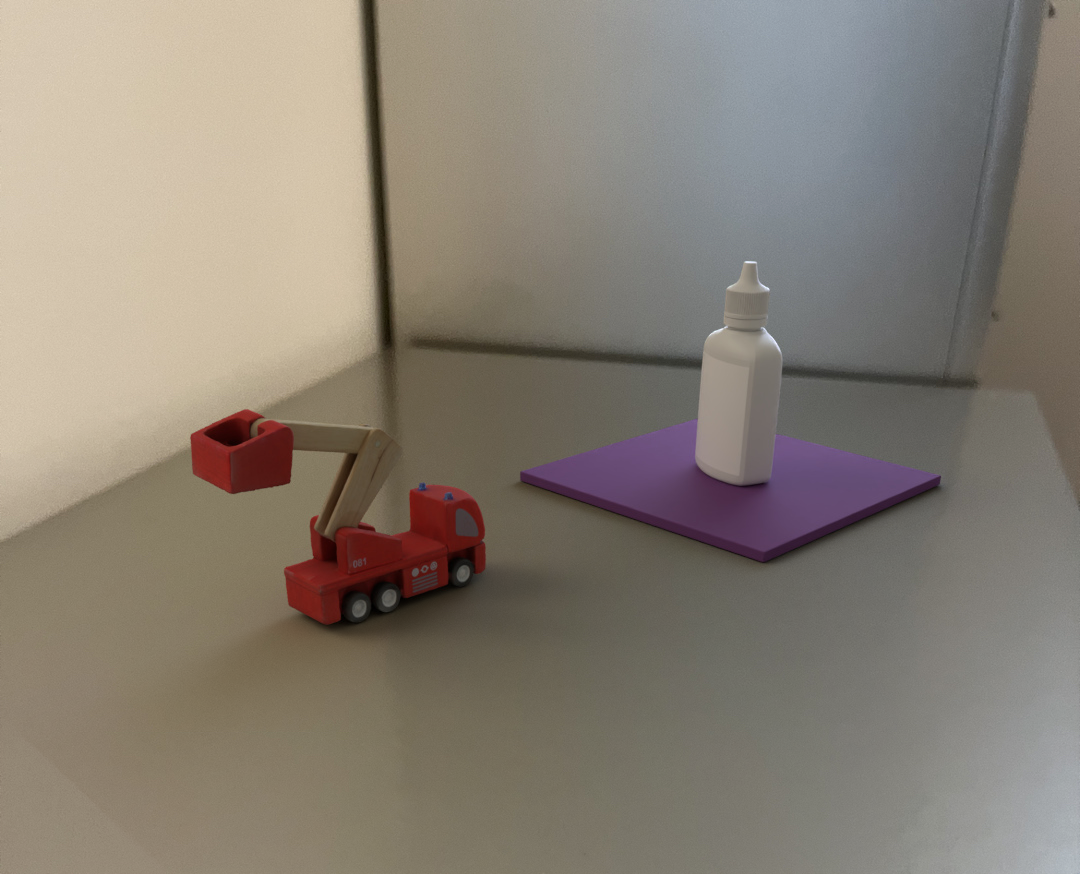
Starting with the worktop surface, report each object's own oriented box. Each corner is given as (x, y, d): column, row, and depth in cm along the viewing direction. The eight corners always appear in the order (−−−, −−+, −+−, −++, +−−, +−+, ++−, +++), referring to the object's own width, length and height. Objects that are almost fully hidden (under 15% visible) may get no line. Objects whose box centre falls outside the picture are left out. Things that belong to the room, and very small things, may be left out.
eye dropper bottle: (696, 487, 69) (712, 269, 64) (694, 457, 74) (709, 253, 68) (771, 489, 69) (795, 271, 63) (764, 460, 74) (786, 255, 68)
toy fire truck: (495, 577, 59) (493, 380, 54) (253, 660, 51) (225, 438, 46) (452, 558, 61) (447, 367, 56) (214, 635, 53) (183, 420, 48)
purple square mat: (705, 423, 83) (706, 415, 83) (940, 484, 72) (941, 475, 72) (519, 480, 72) (519, 471, 72) (763, 563, 61) (764, 552, 61)
